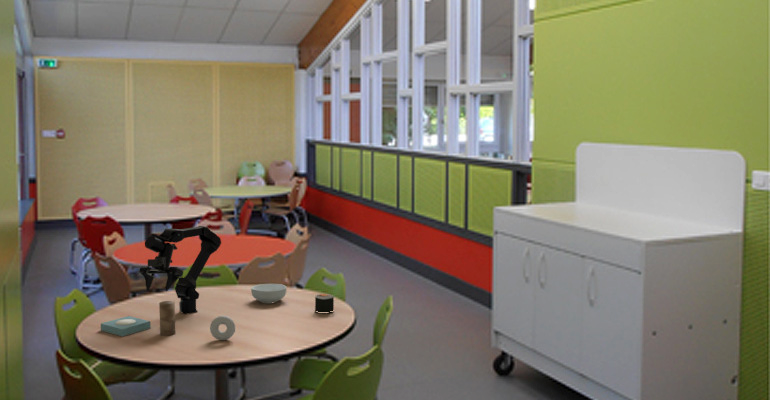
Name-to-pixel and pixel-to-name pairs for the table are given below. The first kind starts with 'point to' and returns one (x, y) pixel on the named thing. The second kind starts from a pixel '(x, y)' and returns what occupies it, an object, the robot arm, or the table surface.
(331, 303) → the sushi
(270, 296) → the cereal bowl
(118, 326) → the plinth
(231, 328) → the donut
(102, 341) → the table surface
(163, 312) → the walnut post
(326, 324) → the table surface
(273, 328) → the table surface
